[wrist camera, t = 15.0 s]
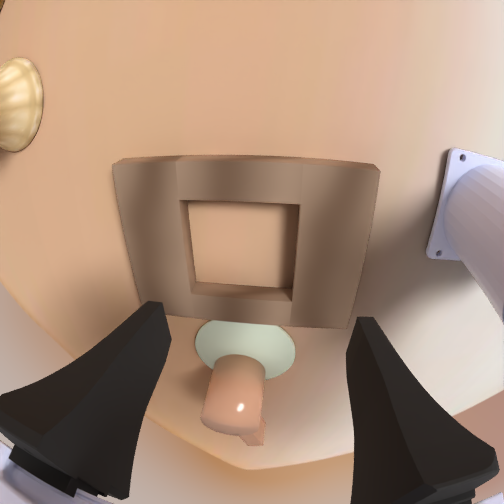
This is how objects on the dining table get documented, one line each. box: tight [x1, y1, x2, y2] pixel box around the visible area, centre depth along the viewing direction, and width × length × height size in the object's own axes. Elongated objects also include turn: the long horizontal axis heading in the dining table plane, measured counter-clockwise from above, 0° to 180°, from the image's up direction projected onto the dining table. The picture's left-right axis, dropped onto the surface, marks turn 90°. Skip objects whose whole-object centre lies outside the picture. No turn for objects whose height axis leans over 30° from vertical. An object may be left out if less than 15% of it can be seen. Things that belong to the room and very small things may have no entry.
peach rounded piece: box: [200, 354, 266, 446], centre depth 26 cm, size 9×5×6 cm, turn 20°
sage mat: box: [195, 320, 295, 380], centre depth 26 cm, size 9×9×1 cm
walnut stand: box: [112, 155, 380, 329], centre depth 20 cm, size 16×12×2 cm
